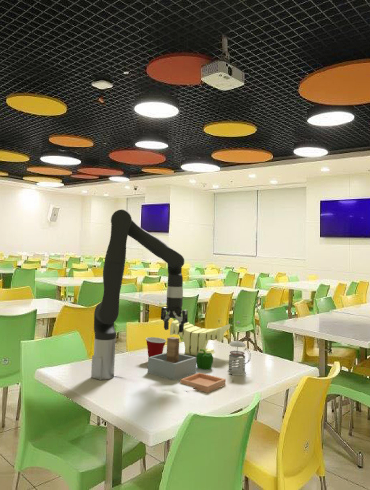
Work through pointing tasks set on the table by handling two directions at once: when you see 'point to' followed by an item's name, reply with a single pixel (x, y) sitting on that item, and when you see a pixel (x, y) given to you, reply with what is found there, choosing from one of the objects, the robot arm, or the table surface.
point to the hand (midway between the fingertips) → (173, 330)
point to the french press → (234, 357)
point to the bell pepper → (204, 360)
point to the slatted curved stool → (197, 337)
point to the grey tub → (171, 366)
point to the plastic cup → (155, 346)
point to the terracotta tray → (203, 382)
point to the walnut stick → (172, 349)
